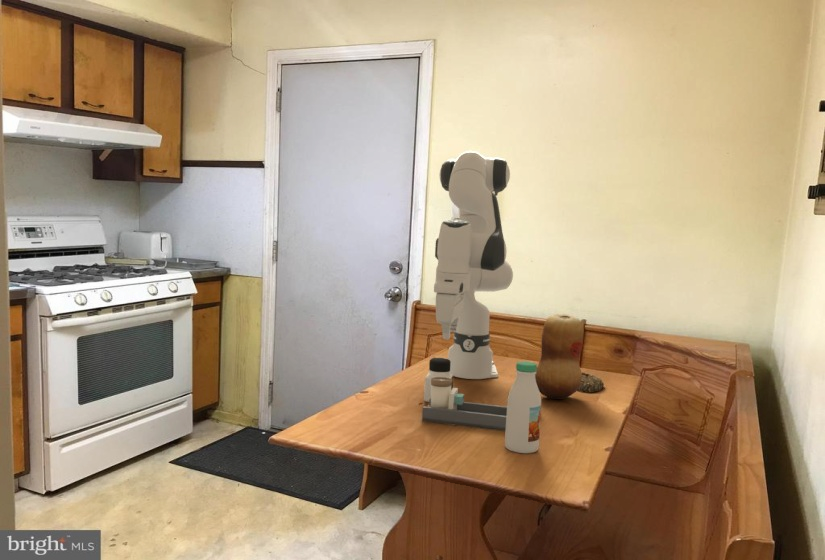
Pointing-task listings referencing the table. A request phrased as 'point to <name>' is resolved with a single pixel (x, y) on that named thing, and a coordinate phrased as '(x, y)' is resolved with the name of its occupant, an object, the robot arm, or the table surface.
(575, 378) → the butternut squash
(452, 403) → the pusher
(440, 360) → the medicine bottle
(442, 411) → the lane
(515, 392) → the milk bottle
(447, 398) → the jar
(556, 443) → the table surface
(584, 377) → the grey speckled flat mound
